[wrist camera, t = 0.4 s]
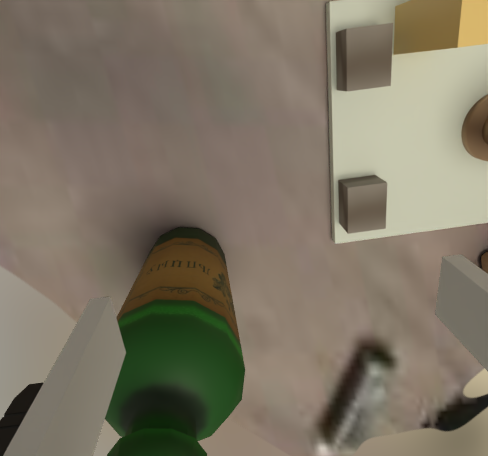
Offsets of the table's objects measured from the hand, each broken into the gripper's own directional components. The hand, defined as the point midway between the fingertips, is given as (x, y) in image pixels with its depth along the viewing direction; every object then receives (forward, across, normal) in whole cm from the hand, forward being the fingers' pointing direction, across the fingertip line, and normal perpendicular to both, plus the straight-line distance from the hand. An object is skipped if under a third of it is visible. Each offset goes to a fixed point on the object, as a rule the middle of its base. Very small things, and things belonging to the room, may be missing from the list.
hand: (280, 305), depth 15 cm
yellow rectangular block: (+25, +17, +11) cm, 32 cm away
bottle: (+26, -7, -11) cm, 29 cm away
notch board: (+25, +12, +2) cm, 28 cm away
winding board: (+26, +21, +2) cm, 33 cm away
